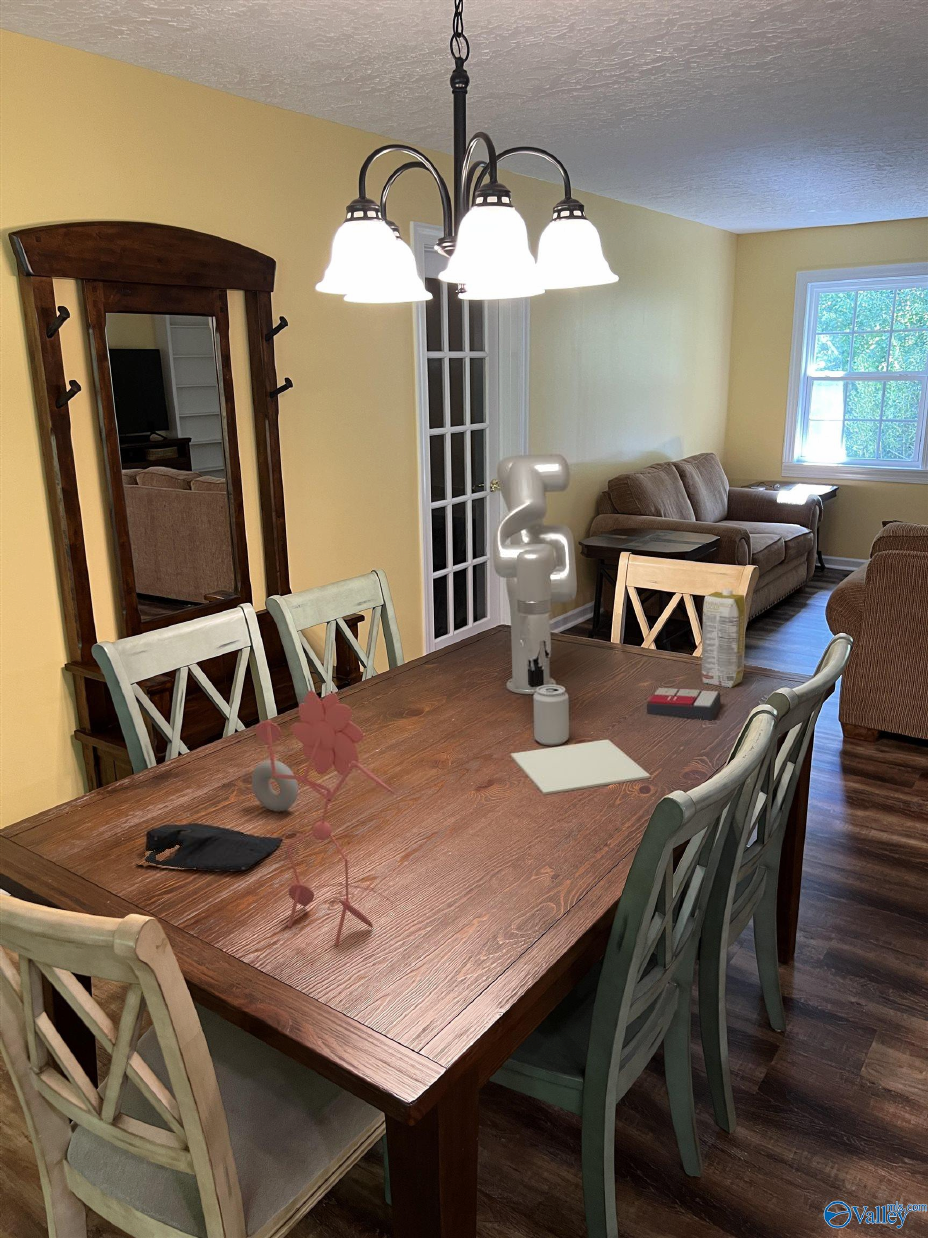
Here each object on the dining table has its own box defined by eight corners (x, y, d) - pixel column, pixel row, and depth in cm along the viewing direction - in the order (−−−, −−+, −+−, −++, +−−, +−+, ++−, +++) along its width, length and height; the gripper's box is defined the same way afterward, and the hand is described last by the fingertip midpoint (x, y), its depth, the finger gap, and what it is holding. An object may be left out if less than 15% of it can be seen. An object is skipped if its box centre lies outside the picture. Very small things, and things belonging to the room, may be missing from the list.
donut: (304, 811, 170) (299, 761, 167) (292, 819, 167) (288, 768, 165) (262, 802, 174) (257, 753, 172) (250, 809, 172) (244, 760, 169)
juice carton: (746, 681, 232) (749, 589, 226) (732, 690, 226) (735, 595, 220) (711, 675, 238) (714, 585, 232) (697, 683, 232) (700, 591, 226)
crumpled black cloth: (242, 887, 146) (239, 860, 144) (128, 868, 153) (124, 842, 152) (290, 842, 160) (287, 817, 158) (184, 827, 167) (181, 803, 166)
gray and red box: (657, 686, 221) (720, 689, 215) (657, 703, 222) (721, 706, 216) (646, 700, 211) (712, 704, 205) (646, 718, 212) (712, 722, 206)
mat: (510, 756, 191) (510, 753, 191) (607, 741, 197) (607, 739, 197) (543, 794, 173) (543, 792, 172) (650, 777, 178) (650, 775, 178)
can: (573, 736, 200) (572, 684, 197) (562, 749, 194) (561, 695, 191) (541, 732, 204) (540, 681, 201) (529, 744, 197) (528, 691, 194)
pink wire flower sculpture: (378, 968, 123) (364, 721, 115) (245, 914, 137) (224, 691, 129) (444, 915, 135) (435, 689, 127) (315, 871, 149) (300, 665, 141)
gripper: (507, 601, 207) (509, 678, 211) (529, 615, 193) (531, 697, 197) (538, 597, 209) (540, 674, 213) (562, 611, 195) (563, 693, 199)
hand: (535, 685), depth 205 cm, fingers closed
